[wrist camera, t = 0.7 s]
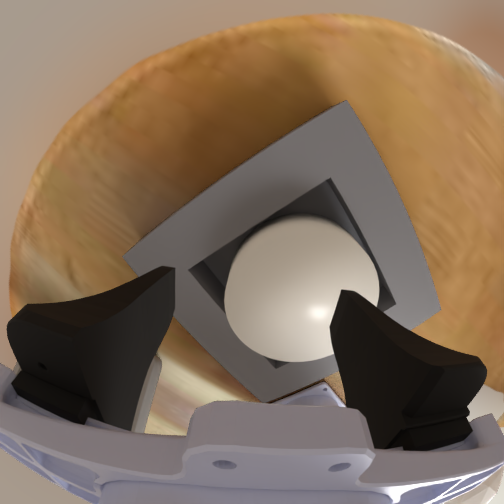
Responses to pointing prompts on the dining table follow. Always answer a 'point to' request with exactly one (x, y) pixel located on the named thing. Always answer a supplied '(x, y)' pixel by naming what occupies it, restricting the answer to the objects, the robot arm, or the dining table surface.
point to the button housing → (279, 204)
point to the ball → (481, 491)
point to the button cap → (294, 285)
